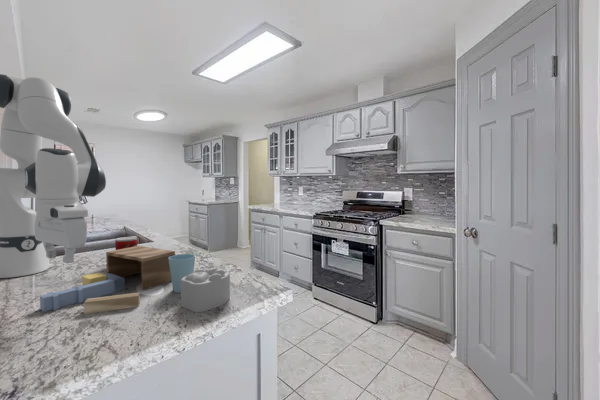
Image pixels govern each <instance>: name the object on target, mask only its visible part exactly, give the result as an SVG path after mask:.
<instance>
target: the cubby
mask: <svg viewBox="0 0 600 400" xmlns="http://www.w3.org/2000/svg"><path fill="white" fill-rule="evenodd" d="M105 255H106V257H105V258H106V274H109V273H111V274H114V275H117V276H119V277H122V278H126V277H129V276H133V275H136V274H137V275H138V274H141V290H142V291H146V290H149V289H153V288H155V287H158V286H162V285H165V284H168V283H172V280H171V273H170V266H169V259H168V258H169V257H170V256H173V255H176V251H175V250H170V249H163V248H155V247H148V246H143V245H137V246H135V247H130V248H124V249H119V250H116V249H114V250H109V251H106V252H105Z"/></svg>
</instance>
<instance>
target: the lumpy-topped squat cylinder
mask: <svg viewBox="0 0 600 400" xmlns="http://www.w3.org/2000/svg"><path fill="white" fill-rule="evenodd" d="M230 274H231V273H230V272H229V271H228V270H224V269H222V268H217V267H211V268H209V269H208V270H207V269H206V270H205V269H204V268H197V269H195V270H194V273H192V274H189V275H188V276H185V277H183V278H182V279H181V293H180V307H183V308H185V309H188V310H189V311H191V312H193V313H194V312H195V313H201V312H202V313H203V312H206V311H209V310H213V309H215V308H217V307H220V306H222V305H224V304H227V302H228V301H229V300H230V298H231V287H230V285H231V284H230V283H231V280H230V279H231V278H230Z"/></svg>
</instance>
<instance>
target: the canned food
mask: <svg viewBox="0 0 600 400" xmlns="http://www.w3.org/2000/svg"><path fill="white" fill-rule="evenodd" d="M114 241H115V250H119V249H124V248H130V247H135V246H138V238H137V236H123V237H117V238H115V239H114Z"/></svg>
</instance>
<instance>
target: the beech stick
mask: <svg viewBox="0 0 600 400" xmlns="http://www.w3.org/2000/svg"><path fill="white" fill-rule="evenodd" d="M140 298H141V297H140V292H132V293H125V294H116V295H108V296H106V295H105V296H99V297H96V298H90V299H87V300H85V301H83V311H84V315H86V314H93V313H95V314H96V313H99V312H108V311H115V310H116V311H117V310H123V309H130V308H136V307H140V304H141V299H140Z"/></svg>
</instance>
